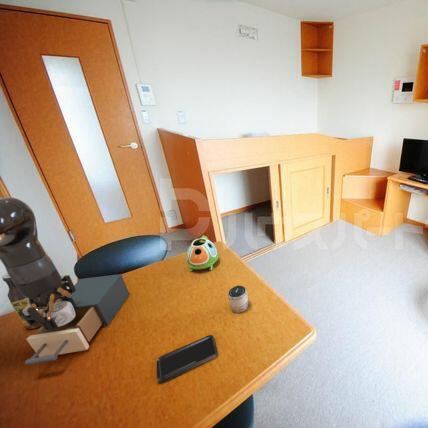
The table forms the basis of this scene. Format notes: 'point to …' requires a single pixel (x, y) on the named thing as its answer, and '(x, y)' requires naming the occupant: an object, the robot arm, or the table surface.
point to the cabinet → (101, 295)
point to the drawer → (65, 336)
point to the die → (62, 313)
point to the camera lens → (238, 299)
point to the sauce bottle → (18, 299)
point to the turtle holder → (201, 254)
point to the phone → (185, 358)
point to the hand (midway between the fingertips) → (62, 318)
